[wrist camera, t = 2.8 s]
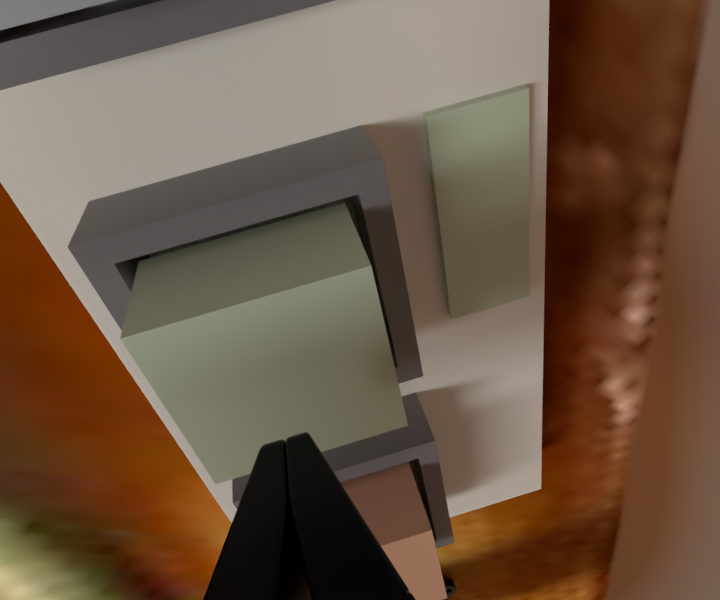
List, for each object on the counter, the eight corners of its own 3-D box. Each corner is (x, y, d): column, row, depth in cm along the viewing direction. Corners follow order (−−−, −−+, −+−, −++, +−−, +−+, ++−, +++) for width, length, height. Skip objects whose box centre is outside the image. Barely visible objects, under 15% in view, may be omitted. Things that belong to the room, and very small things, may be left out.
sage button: (381, 351, 14) (407, 425, 12) (216, 400, 14) (215, 484, 12) (344, 202, 11) (371, 265, 9) (138, 261, 11) (120, 338, 9)
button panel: (519, 450, 24) (565, 532, 21) (263, 530, 24) (270, 626, 20) (488, -821, 7) (711, -1434, 4) (-450, -630, 6) (-1102, -1156, 3)
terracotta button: (424, 527, 19) (447, 598, 17) (307, 564, 19) (317, 639, 17) (407, 456, 17) (431, 530, 15) (270, 498, 16) (277, 578, 14)
